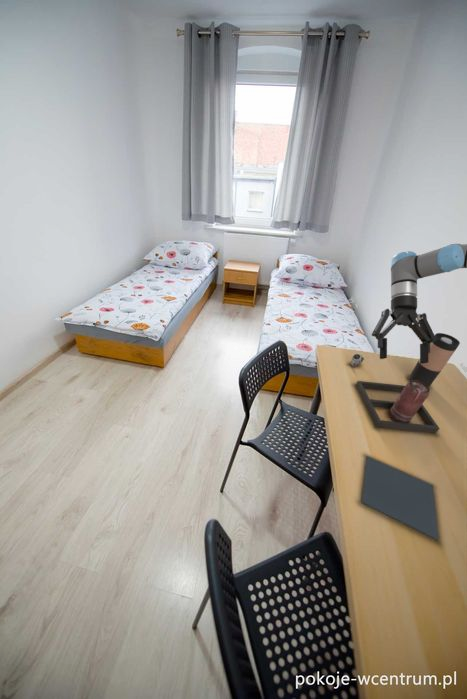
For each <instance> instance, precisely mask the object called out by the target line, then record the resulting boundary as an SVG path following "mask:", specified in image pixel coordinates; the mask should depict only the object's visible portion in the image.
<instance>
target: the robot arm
mask: <svg viewBox="0 0 467 699" xmlns="http://www.w3.org/2000/svg"><path fill="white" fill-rule="evenodd" d="M390 264H391V266H390V299H391V300H390V309H389V308H386V309H384V310H382V311H381V314H380V318H379V320H378V321H377V324H376V325H375V327H374V328H373V330H372V333H371V336H372V337H375V340H377V349H379V360H384V359H388V337H386V336H387V335H388V334H389V333H390V332H391V331H392V330H393V329H394V328H395V327H396V326H403V327H408V328H409V329H411V330H412V332H413V333H414V334H415V336H416V337H417V339H419V341H420V342H421V343H420V344H419V359H420V363H422V364H423V363H429V361H428V353H430V343H431V342H435V341H436V340H437V339H436V337H435V333H434V331H433V329H432V327H431V324H430V323H429V321H428V317H427V316H428V315H427V313H426V312H422V313H418V312H417V309H418V280H419V279H424V278H428V277H431V276H436V275H441V274H444V273H450V272H453V271H456V270H459V269H467V243H466V244H464V243H463V244H461V243H451V244H449V245H446V246H443V247H440V248H437V249H433V250H431V251H430V250H429V251H427V252H425V253H422V254H418V255H417V253H416V252H415V251H410V250H409V251H401V252H398V253H396V254H395V255H393V257H392V258H391V263H390ZM389 317H390V318H391V320H390V321H389V322H388V324H387V325H386V326H385V324H386V322H387V321H388V319H389ZM384 326H385V327H384Z"/></svg>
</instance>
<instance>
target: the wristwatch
mask: <svg viewBox="0 0 467 699" xmlns="http://www.w3.org/2000/svg"><path fill="white" fill-rule="evenodd" d="M364 360H365V357H364V356H363V355H362V354H360V353H354V354H353V355H352V356H351V359H350V361H349V365H350V366H351V367H357V366H360V365H361V364H362V363H363V362H364Z"/></svg>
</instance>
